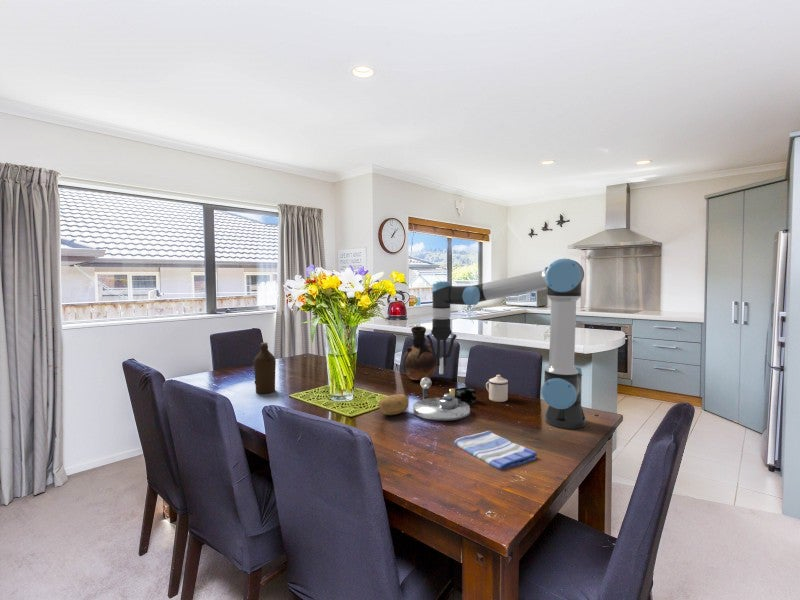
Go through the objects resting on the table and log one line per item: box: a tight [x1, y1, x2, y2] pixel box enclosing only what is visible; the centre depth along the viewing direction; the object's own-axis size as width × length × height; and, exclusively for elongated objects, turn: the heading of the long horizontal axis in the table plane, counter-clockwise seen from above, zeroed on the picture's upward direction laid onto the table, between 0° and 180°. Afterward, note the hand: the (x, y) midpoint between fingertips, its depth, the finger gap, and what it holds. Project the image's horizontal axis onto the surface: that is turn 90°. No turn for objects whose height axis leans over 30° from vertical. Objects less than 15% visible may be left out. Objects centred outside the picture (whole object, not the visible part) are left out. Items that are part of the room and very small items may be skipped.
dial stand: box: [419, 377, 432, 400], centre depth 193 cm, size 4×5×12 cm
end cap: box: [454, 385, 477, 405], centre depth 195 cm, size 10×7×7 cm
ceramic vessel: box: [401, 325, 438, 381], centre depth 237 cm, size 21×18×30 cm
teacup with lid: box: [485, 374, 509, 403], centre depth 201 cm, size 12×9×12 cm
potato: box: [377, 393, 409, 416], centre depth 179 cm, size 10×14×8 cm
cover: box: [438, 392, 458, 409], centre depth 179 cm, size 8×8×5 cm
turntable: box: [412, 388, 471, 422], centre depth 179 cm, size 24×24×7 cm
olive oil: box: [253, 342, 277, 395], centre depth 214 cm, size 11×11×25 cm
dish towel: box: [453, 430, 538, 471], centre depth 142 cm, size 17×24×3 cm
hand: (441, 373), depth 179 cm, fingers closed
